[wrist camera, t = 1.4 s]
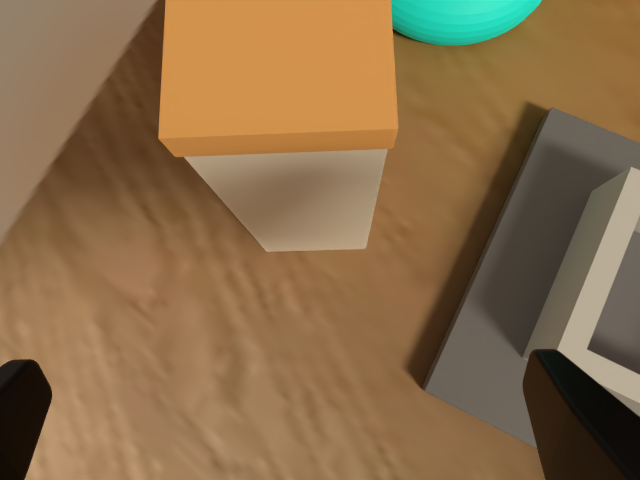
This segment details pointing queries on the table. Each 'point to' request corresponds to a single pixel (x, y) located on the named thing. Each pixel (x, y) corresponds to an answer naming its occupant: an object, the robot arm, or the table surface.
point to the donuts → (458, 19)
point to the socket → (552, 278)
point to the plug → (283, 112)
